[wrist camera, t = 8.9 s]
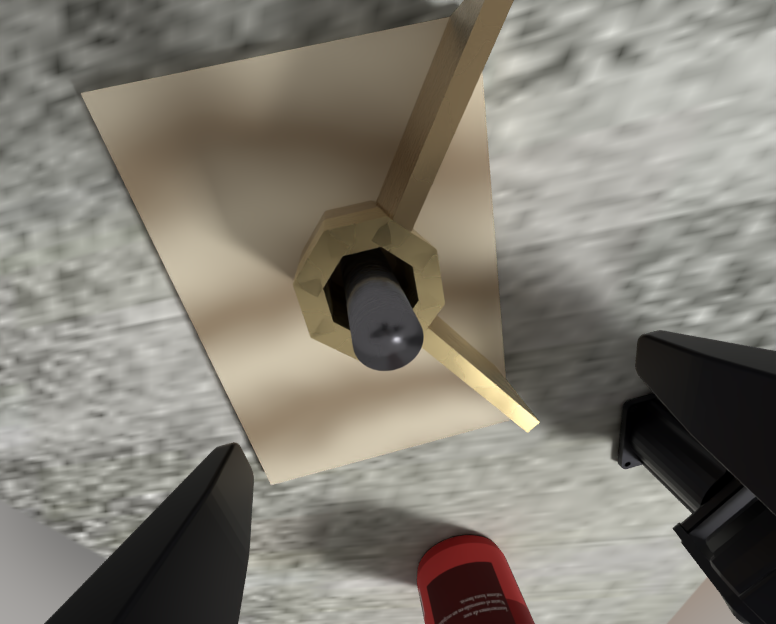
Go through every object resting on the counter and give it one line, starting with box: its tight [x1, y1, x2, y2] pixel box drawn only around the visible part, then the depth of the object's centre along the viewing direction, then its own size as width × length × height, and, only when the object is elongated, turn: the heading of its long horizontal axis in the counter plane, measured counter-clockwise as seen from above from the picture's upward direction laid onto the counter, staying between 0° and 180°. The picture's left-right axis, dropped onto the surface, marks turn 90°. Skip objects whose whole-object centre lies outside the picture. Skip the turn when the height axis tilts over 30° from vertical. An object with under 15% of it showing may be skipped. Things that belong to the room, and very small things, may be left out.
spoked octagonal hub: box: [293, 0, 540, 433], centre depth 16 cm, size 18×9×5 cm, turn 12°
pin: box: [340, 247, 424, 371], centre depth 15 cm, size 2×2×8 cm
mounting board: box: [81, 17, 509, 485], centre depth 19 cm, size 22×16×1 cm
